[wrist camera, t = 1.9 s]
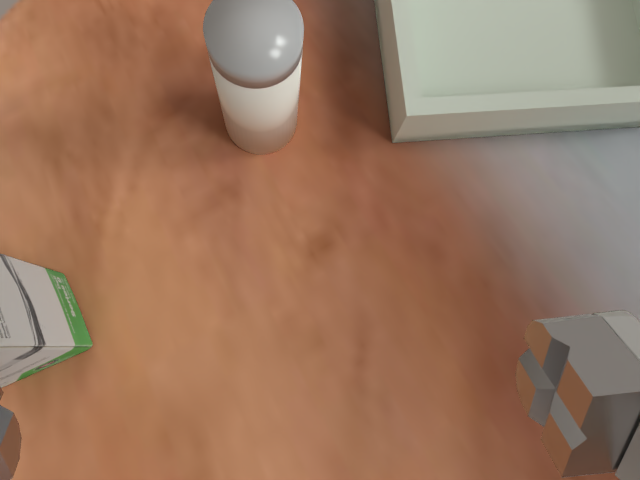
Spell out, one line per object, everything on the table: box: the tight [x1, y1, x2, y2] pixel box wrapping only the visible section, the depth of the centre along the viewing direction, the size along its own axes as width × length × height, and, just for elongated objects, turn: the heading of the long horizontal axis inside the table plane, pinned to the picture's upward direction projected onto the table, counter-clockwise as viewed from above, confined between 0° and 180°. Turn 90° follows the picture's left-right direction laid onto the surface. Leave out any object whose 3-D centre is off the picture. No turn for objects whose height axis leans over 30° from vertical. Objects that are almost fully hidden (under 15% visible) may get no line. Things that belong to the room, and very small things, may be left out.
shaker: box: [203, 0, 304, 154], centre depth 29 cm, size 4×4×10 cm
